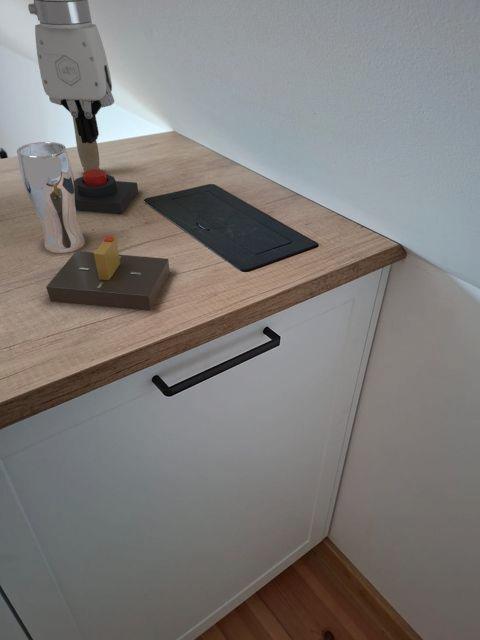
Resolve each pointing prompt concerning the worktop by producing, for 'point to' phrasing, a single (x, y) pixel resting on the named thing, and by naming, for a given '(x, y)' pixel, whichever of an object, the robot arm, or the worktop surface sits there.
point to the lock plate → (110, 282)
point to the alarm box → (105, 196)
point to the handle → (87, 151)
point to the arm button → (94, 177)
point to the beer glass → (52, 193)
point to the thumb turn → (107, 258)
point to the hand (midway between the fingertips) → (90, 140)
